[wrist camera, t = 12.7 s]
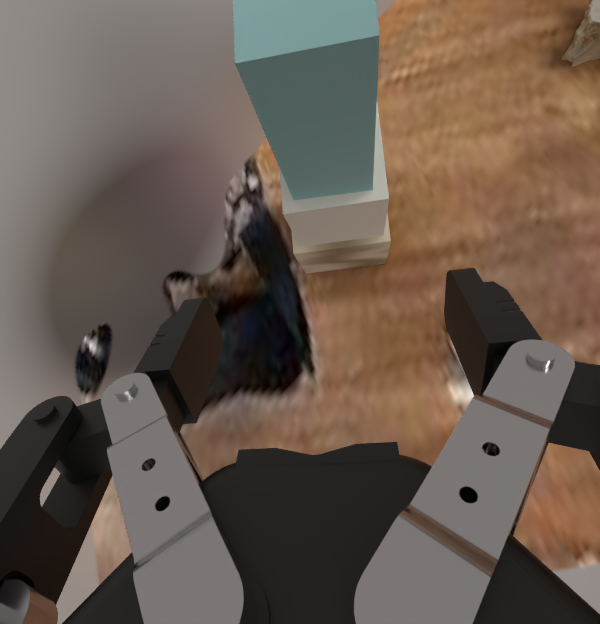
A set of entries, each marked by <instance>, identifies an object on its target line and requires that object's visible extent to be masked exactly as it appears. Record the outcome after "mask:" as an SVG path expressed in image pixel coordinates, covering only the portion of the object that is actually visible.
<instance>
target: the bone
mask: <svg viewBox="0 0 600 624" xmlns="http://www.w3.org/2000/svg"><path fill="white" fill-rule="evenodd" d="M597 59H600V0H590V5H589V7H588V8H587V9H586V11H585V14H584V19H583V21H582V22H581V24H580V27H579V28H578V29H577V30H576V33H575V36H574V40H573V42H572V43H571V45H570V47H569V48H568V50H567V51H566V53H565V54H564V55H563V57H562V60H568V61H569V62H571V63H572V65H571V67H574V66H577V65H579V64H582V63H584V62H587V61H591V60H597Z"/></svg>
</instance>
